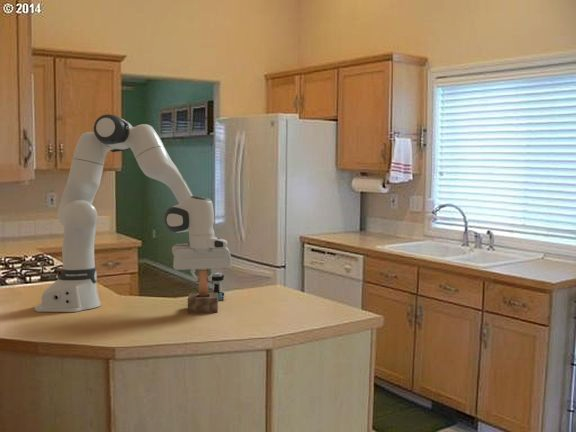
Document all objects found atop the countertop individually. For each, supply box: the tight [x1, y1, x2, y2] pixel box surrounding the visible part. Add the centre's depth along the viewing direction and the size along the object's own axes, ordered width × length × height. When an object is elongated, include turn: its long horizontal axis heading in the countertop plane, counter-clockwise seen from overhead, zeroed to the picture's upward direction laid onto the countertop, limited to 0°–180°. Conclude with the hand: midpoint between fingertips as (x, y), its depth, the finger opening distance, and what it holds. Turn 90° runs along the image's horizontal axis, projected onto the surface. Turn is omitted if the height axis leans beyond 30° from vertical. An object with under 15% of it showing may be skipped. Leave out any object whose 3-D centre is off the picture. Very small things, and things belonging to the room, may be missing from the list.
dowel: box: [197, 269, 209, 297], centre depth 219 cm, size 3×3×9 cm
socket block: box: [187, 292, 219, 314], centre depth 219 cm, size 10×10×5 cm
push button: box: [211, 272, 227, 301], centre depth 236 cm, size 7×5×10 cm
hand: (203, 281), depth 219 cm, fingers closed on dowel, 3 cm apart
